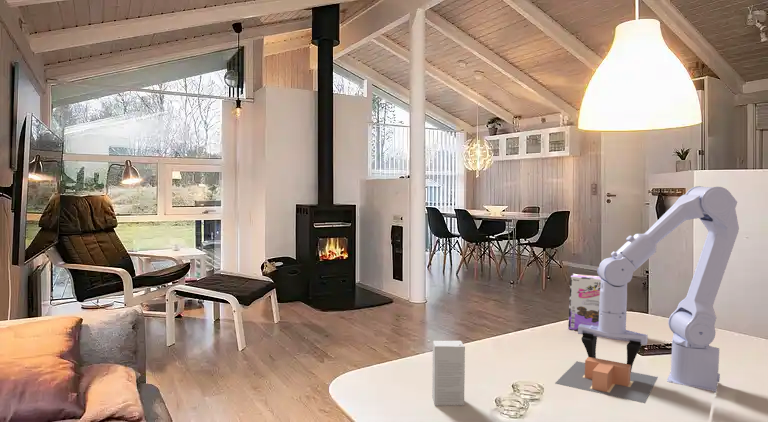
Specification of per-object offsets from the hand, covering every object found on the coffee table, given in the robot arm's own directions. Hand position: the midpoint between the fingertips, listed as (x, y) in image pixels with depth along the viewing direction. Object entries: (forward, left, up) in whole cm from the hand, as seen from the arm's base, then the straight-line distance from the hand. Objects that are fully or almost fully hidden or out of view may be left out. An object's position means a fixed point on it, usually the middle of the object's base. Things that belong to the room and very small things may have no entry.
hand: (610, 369), depth 124 cm
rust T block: (0, +6, -1) cm, 6 cm away
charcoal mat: (0, +3, -2) cm, 4 cm away
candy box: (+13, -40, -2) cm, 42 cm away
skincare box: (+24, +34, -2) cm, 42 cm away
